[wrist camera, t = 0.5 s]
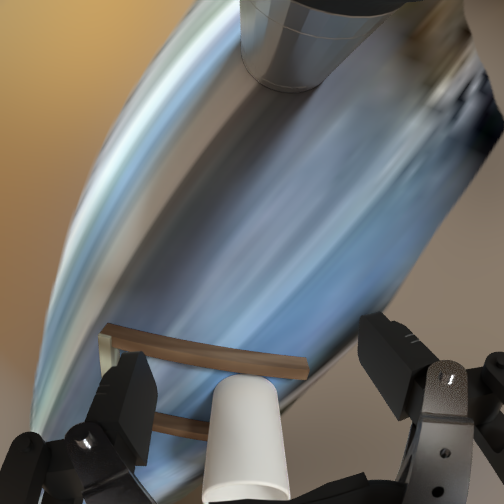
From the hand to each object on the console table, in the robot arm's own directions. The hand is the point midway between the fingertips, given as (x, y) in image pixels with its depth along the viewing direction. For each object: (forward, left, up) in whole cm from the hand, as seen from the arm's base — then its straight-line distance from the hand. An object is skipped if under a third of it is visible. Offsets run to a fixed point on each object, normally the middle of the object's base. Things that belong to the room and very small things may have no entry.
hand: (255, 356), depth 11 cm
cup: (+21, +3, -21) cm, 30 cm away
